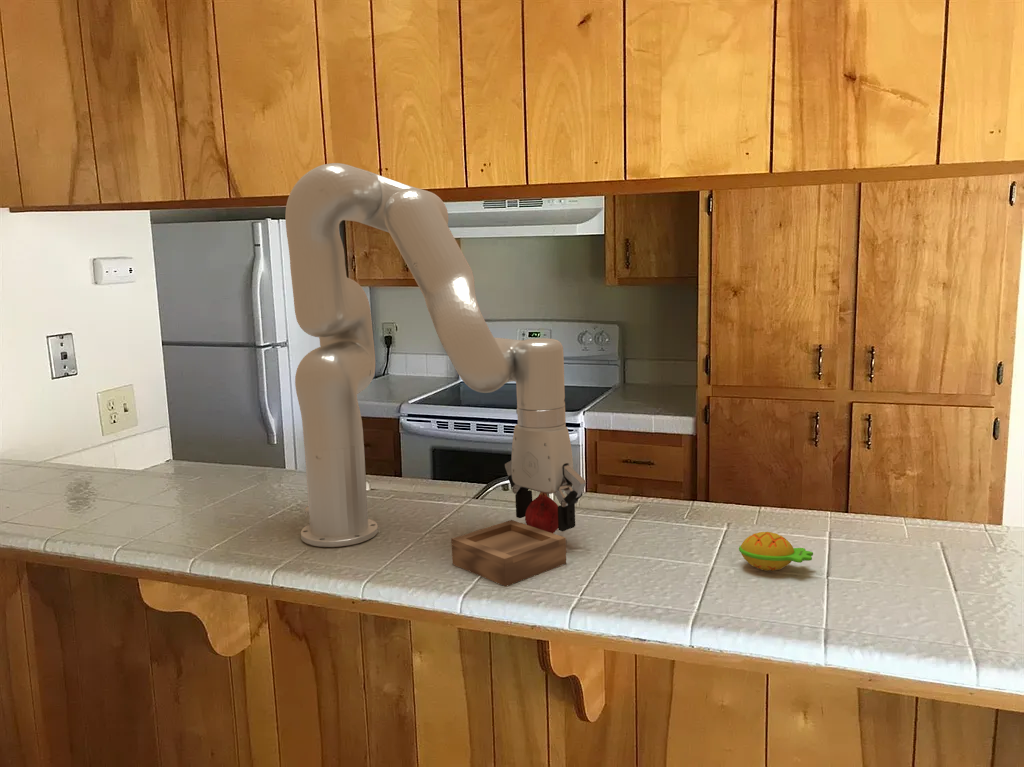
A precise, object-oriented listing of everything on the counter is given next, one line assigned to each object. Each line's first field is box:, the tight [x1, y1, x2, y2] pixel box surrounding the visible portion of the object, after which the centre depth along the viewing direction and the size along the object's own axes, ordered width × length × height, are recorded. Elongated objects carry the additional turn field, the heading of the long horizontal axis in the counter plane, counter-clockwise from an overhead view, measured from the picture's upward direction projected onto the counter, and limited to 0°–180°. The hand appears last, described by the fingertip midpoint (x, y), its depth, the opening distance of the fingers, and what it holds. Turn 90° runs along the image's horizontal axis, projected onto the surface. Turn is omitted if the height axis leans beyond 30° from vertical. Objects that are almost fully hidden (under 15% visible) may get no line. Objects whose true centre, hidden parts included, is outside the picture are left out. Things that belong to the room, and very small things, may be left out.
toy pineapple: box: [738, 531, 814, 572], centre depth 120 cm, size 7×10×5 cm
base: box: [450, 519, 567, 587], centre depth 125 cm, size 12×12×4 cm
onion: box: [524, 492, 559, 534], centre depth 135 cm, size 6×6×8 cm
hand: (545, 522), depth 135 cm, fingers open, 9 cm apart
